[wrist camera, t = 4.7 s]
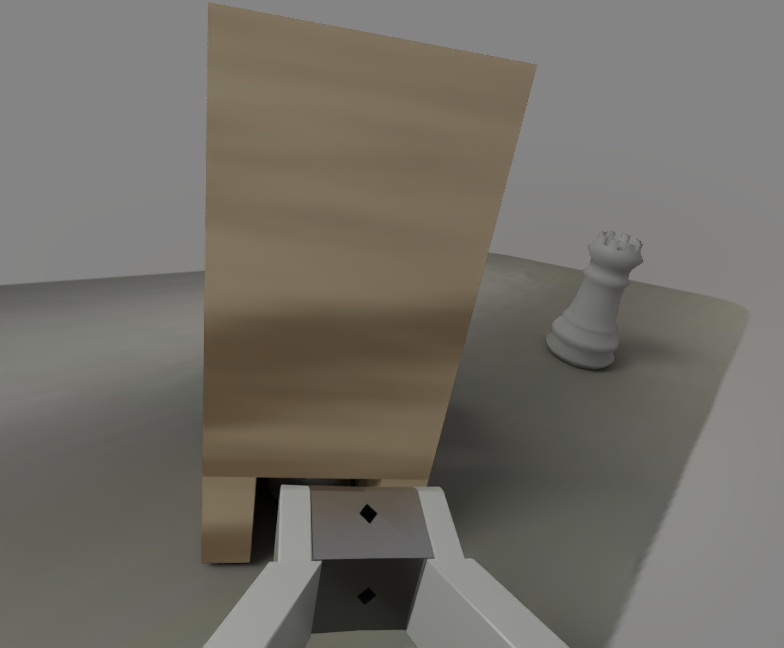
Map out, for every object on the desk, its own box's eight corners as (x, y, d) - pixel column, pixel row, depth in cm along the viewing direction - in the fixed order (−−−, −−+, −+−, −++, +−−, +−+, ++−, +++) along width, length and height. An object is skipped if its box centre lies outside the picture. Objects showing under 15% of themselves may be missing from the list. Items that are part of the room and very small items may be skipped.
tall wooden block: (407, 559, 19) (536, 64, 12) (201, 563, 18) (208, 1, 10) (386, 459, 23) (472, 53, 16) (220, 456, 22) (233, 7, 15)
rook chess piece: (566, 331, 39) (604, 222, 35) (624, 361, 36) (672, 247, 32) (530, 345, 36) (568, 228, 32) (590, 380, 33) (639, 256, 29)
